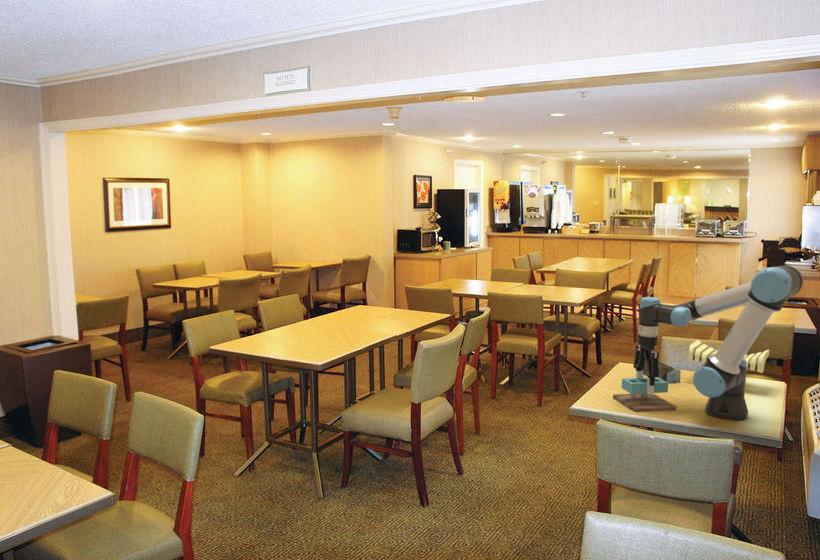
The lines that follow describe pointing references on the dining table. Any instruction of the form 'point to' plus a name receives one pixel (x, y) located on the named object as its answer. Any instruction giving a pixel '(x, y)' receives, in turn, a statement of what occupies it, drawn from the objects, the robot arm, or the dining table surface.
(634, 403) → the post base
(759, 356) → the slatted curved stool
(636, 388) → the teal block with holes
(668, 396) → the dining table surface
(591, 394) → the dining table surface
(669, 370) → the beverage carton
